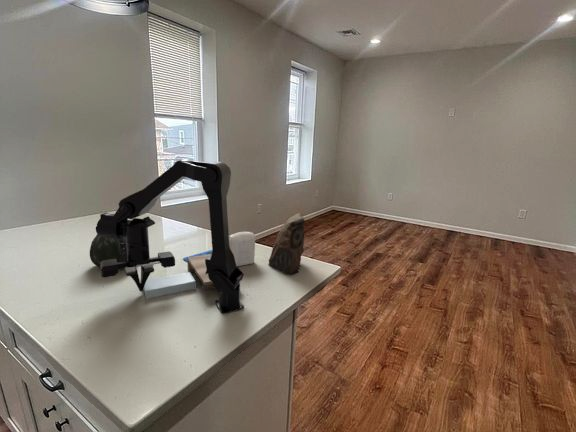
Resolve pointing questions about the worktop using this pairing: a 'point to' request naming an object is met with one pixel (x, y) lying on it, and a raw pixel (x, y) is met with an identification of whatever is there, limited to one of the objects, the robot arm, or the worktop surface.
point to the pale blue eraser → (169, 285)
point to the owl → (289, 246)
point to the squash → (106, 249)
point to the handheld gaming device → (199, 254)
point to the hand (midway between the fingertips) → (140, 290)
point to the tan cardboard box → (200, 270)
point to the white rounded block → (242, 247)
